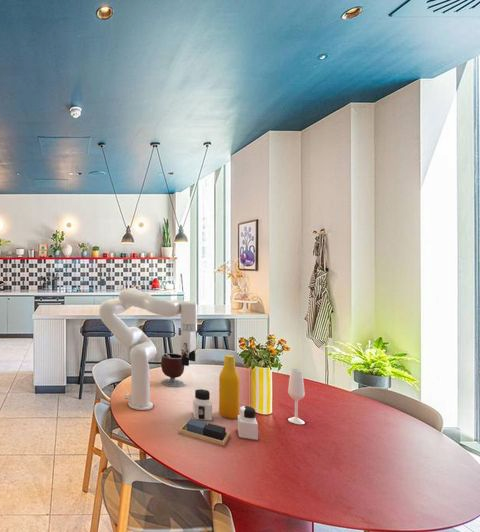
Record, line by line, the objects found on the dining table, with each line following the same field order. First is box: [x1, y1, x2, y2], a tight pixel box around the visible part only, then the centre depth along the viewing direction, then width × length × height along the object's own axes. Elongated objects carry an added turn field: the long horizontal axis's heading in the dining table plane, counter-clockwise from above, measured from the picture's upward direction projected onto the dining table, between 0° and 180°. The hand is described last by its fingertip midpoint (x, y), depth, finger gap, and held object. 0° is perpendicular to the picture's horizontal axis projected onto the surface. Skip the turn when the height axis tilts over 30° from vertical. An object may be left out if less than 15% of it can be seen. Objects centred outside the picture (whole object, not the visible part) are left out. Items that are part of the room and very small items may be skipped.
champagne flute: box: [287, 368, 306, 425], centre depth 162 cm, size 7×7×24 cm
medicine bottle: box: [236, 405, 259, 441], centre depth 147 cm, size 7×7×12 cm
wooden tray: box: [178, 420, 230, 447], centre depth 147 cm, size 18×10×2 cm, turn 54°
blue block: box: [187, 418, 208, 436], centre depth 149 cm, size 7×6×4 cm
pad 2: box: [205, 422, 227, 441], centre depth 145 cm, size 7×6×4 cm
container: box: [192, 388, 213, 421], centre depth 165 cm, size 8×8×13 cm
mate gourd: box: [160, 352, 185, 388], centre depth 212 cm, size 16×14×20 cm
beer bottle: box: [218, 354, 241, 420], centre depth 168 cm, size 9×9×29 cm
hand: (188, 363), depth 164 cm, fingers open, 9 cm apart
